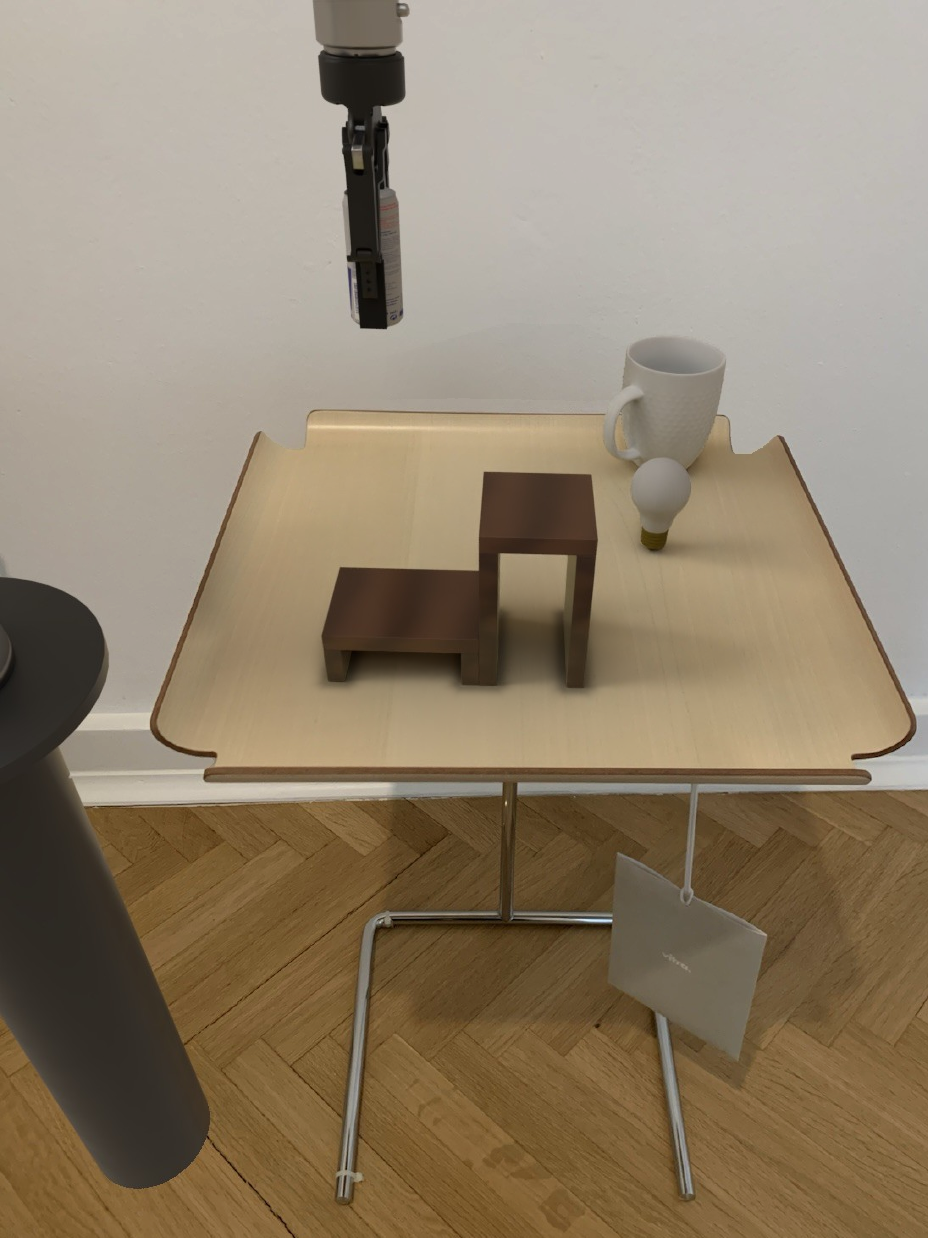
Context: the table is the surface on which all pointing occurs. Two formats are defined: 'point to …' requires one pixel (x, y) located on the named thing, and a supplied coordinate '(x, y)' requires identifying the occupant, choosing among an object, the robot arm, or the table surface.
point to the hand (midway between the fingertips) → (377, 316)
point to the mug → (666, 399)
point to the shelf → (474, 583)
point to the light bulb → (659, 498)
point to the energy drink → (389, 254)
